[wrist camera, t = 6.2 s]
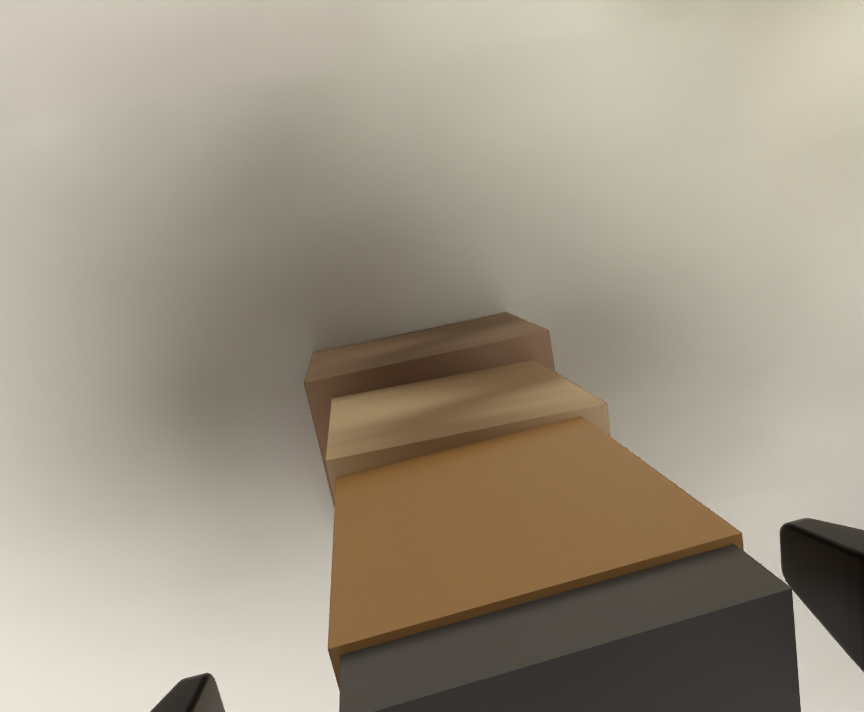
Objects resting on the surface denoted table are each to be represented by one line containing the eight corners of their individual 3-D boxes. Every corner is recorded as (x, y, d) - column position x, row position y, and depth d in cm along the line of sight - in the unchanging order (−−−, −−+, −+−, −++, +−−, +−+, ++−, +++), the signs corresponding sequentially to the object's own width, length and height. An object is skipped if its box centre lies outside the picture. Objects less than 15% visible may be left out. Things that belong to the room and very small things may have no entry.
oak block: (535, 359, 14) (606, 403, 10) (556, 541, 15) (630, 645, 11) (331, 397, 13) (325, 461, 10) (369, 584, 14) (378, 709, 11)
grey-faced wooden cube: (581, 415, 10) (799, 575, 5) (613, 627, 11) (824, 930, 6) (336, 477, 10) (324, 715, 5) (392, 693, 11) (430, 1074, 6)
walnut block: (504, 311, 18) (548, 330, 14) (532, 486, 19) (580, 548, 15) (313, 351, 17) (304, 383, 13) (355, 529, 18) (358, 605, 15)
